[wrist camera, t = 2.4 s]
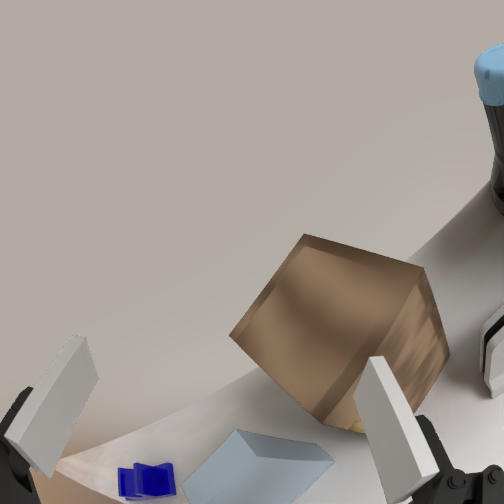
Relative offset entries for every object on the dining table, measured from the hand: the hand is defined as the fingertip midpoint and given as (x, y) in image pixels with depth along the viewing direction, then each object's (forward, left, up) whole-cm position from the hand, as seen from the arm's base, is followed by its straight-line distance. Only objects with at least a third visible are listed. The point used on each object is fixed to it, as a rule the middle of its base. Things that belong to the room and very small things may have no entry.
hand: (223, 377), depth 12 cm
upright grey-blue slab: (+12, -5, -28) cm, 31 cm away
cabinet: (-6, -5, -28) cm, 29 cm away
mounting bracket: (+42, -26, -29) cm, 57 cm away
